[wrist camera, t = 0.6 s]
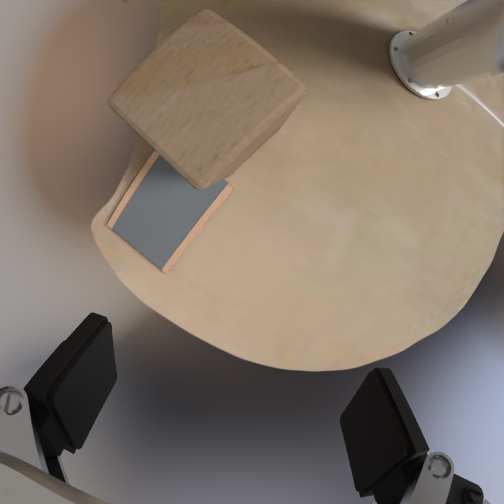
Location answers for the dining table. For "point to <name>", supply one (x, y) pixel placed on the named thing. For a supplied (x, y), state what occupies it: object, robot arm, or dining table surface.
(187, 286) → the dining table surface
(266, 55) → the wooden block
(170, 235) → the slate mat
